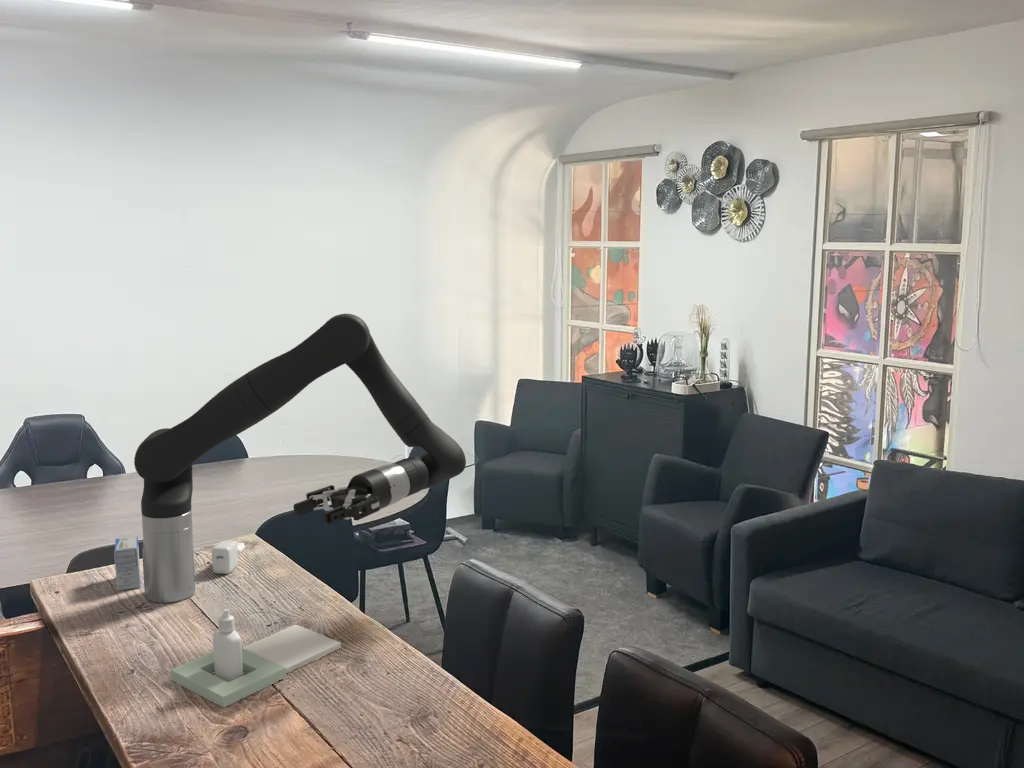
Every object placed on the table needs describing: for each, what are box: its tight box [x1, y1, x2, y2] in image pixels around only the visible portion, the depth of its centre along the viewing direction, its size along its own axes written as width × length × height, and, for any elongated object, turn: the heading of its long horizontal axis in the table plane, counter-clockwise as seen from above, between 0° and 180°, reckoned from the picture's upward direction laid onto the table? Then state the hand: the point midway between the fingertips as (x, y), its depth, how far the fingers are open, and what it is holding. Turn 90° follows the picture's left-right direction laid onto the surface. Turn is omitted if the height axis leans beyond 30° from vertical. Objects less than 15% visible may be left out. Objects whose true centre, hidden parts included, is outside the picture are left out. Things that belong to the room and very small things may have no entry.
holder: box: [170, 648, 287, 708], centre depth 151 cm, size 14×12×2 cm
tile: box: [242, 624, 342, 674], centre depth 161 cm, size 12×12×1 cm
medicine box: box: [113, 535, 141, 591], centre depth 189 cm, size 8×4×9 cm, turn 22°
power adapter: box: [211, 539, 247, 575], centre depth 200 cm, size 11×5×6 cm, turn 175°
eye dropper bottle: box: [212, 608, 244, 682], centre depth 150 cm, size 4×6×12 cm
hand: (309, 515), depth 161 cm, fingers open, 8 cm apart
